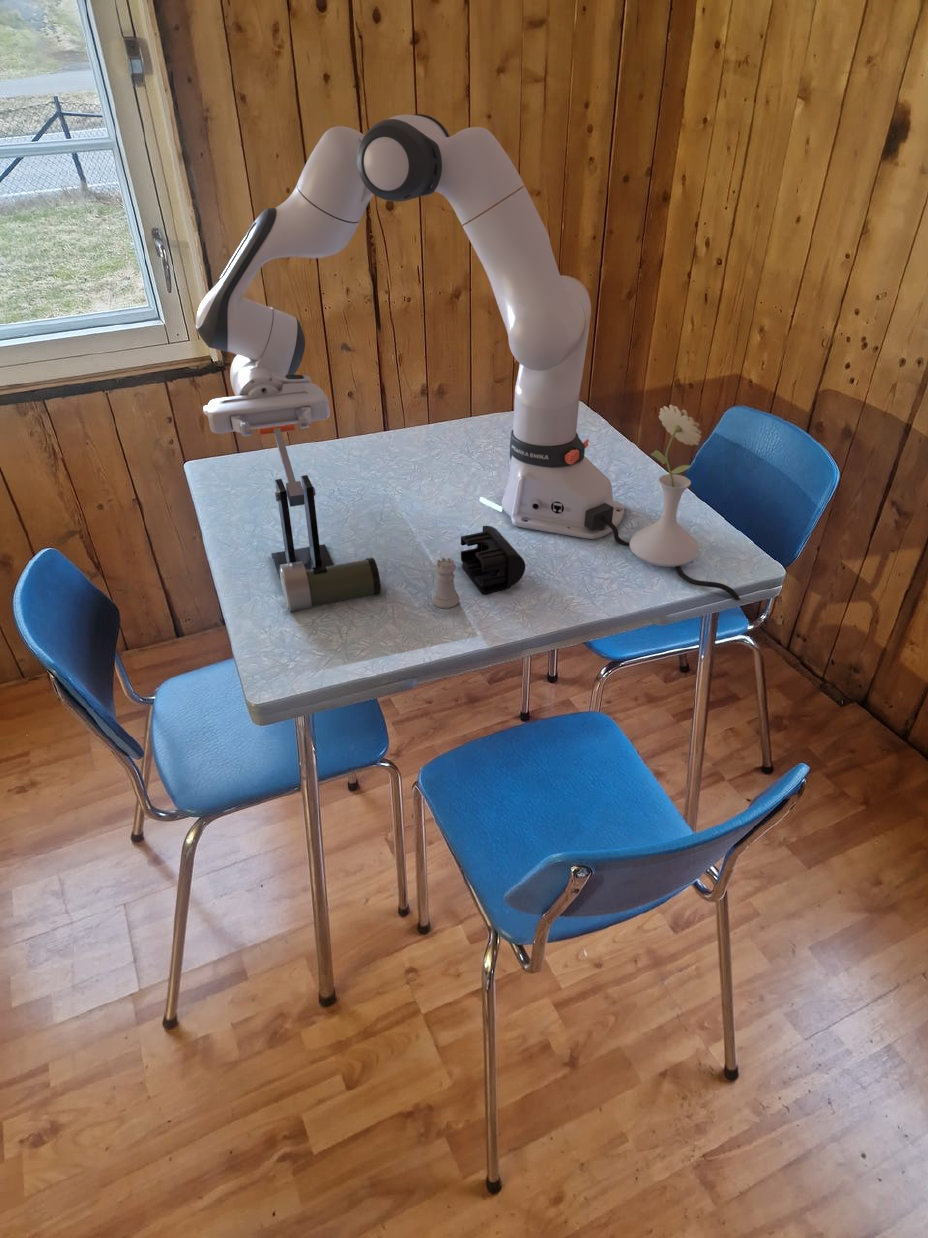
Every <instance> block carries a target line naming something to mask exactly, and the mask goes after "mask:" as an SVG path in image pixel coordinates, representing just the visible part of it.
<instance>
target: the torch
mask: <svg viewBox="0 0 928 1238" xmlns="http://www.w3.org/2000/svg"><path fill="white" fill-rule="evenodd" d="M280 578H281V583H280V585H281V584H282V586H281V589H282V593H283V594H282V595H283V598H284V601H285V604H286V608H287V609H288V610H289V612H290V613H291V612H296V611H301V610H307V609H312V607H317V606H320V605H324V604H325V605H326V604H331V603H336V602H341V601H346V600H347V601H348V600H352V599H356V598H357V599H358V598H363V597H368V596H373V595H378V594H381V589H382V588H381V587H382V585H381V577H380V573H379V568H378V565H377V562H376V560H375V557H372V556H371V557H366V558H365V559H362V560H357V561H351V562H345V563H341V564H333V566H328V567H326V566H320V567H314V568H312V569H311V570H305V567H304V565H303V562H302V561H300V562H294V563H288V564H283V565H280Z"/></svg>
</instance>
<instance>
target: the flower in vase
mask: <svg viewBox="0 0 928 1238" xmlns="http://www.w3.org/2000/svg"><path fill="white" fill-rule="evenodd" d="M659 410H660V411H659V413H658V414H659V415H658V419H659V421H661V424H662V426H663V427H664V428H665V430H666V432H668V433H669V434H670V436H671V437H670V440H669V442H668V444H667V447H666V451H665V455H663V453H661V452H660V451H659V450H657V449H655V450H654V451H653V452H651V453H650V456H651V457H653V458H655V459H656V460H657V461H659V462H660V463H661V464H662V465H666V467H667V469H668V472H669V474H668V473H667V474H663V475H661V476H660V477H658V482H659V484H660V486H661V488H662V491H663V507H662V513H661V516H660V518H659V519H658V521H656V522H654V523H652V524H648V525H647V526H644V527H642V528H640V529H639V530H637V531H636V532H635V533H633V535H632V536H631V538H630V540H629V542H628V543H629V545H630V546H629V548H630V550H631V552H632V553H633V555H634V556H635V557H636V558H637V559H639V560H641V561H642V562H645V563H648V564H650V565H654V566H658V567H667V568H671V567H672V568H675V567H676V566H680V567H681V566H685V565H687V564H689V563H692V561H694V560H695V559H697V557H698V555H699V554H700V549H699V544H698V542H697V541H696V539H695V537H693V535H692V534H691V533H689V532H688V531H687V530H686V529H685V528H683V526H681V525H680V524H679V523H678V521H677V514H678V507H679V505H680V500H681V498H682V496H683V494H684V492H685V491H686V490H687V489H689V487H690V486H691V484H692V481H691V479H689V478H688V477H686V476H684V475H681V474H680V473H683V472H685V471H687V470H688V469H690V467H691V466H692V464H691V465H689V464H682V465H679V466H677V467H675V468H674V469H672V470H671V466H670V463H669V457H668V456H669V450H670V448H671V445H672V442H673V440H674V438H676V440H677V441H678V442H679V443H683V444H684V445H686V446H688V445H689V446H695V445H696V446H699V445H700V443H699V442H701V439H702V430H700V429H698V428H699V427H700V423H699V422H697V421H695V420H694V418H693V417H692V416H688V411H687V410H686V409H682V410H679V407H678V406H676V405H675V406H674V405H673V404H669V407H668V406H666V405H664V406H663V407H660V408H659Z"/></svg>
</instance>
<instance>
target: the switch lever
mask: <svg viewBox="0 0 928 1238" xmlns="http://www.w3.org/2000/svg"><path fill="white" fill-rule="evenodd" d="M295 430H296V429H295V423H294V424H287V425H279V426H271V427H264V428H258V434H259V436H267V435H274V439H275V442H276V446H277V449H278V453H279V457H280V460H281V463H282V467H283V470H284V474H285V477H286V481H287V482H285V489H286V491H287V499H288V505H289V508H291V507H292V508H293V507H299V506H305V505H304V492H303V488H302V481H301V480H297V481H296V477H295V474H294V470H293V468H292V464H291V460H290V457H289V454H288V450H287V446H286V442H285V440H284V437H283V433H290V432H295Z"/></svg>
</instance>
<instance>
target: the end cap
mask: <svg viewBox="0 0 928 1238" xmlns="http://www.w3.org/2000/svg"><path fill="white" fill-rule="evenodd" d="M460 546H467V547H471V546H476V547H474V548H471V549H470V548H469V549H466V550H461V551H460V561H461V569H462V570H463V572H464V573H465V574H466V576H467V578H469V580H470V581H471V582H472V583H473V585H474V586H475V588H476V589H477V590H478V591H479V593H480V594H481V595H483V596H487V595H491V594H495V593H496V594H497V593H499V592H505V591H507V590H509V589H510V588H511V587H513V586H515V585H516V584H517V583H519V582H520V581H521V580H522V578H523V577H524V574H525V572H526V562H525V560H524V558H523V557H522V556H521V554H519V553H518V552H517V550H516V549H515V548H514V547H513V545H512V544H511V543H510V542H509V541H508V540H507V539H506V538H505V537H504V536H503V534H502V533H500V531H499V530H498V529H497V528H496V527H494V526H491V525H483V526H482V531H480V532H475V533H470V534H466V535H462V536H460Z"/></svg>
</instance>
